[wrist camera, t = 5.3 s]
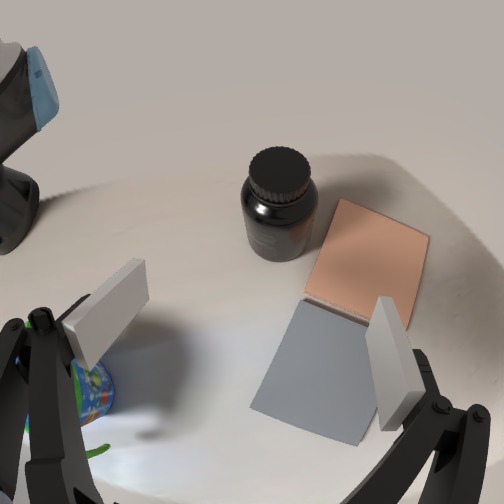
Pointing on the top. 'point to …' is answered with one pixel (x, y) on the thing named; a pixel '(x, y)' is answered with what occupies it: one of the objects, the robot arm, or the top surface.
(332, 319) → the slate pad
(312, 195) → the supplement bottle
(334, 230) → the terracotta pad
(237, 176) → the top surface
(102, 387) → the snack cup
